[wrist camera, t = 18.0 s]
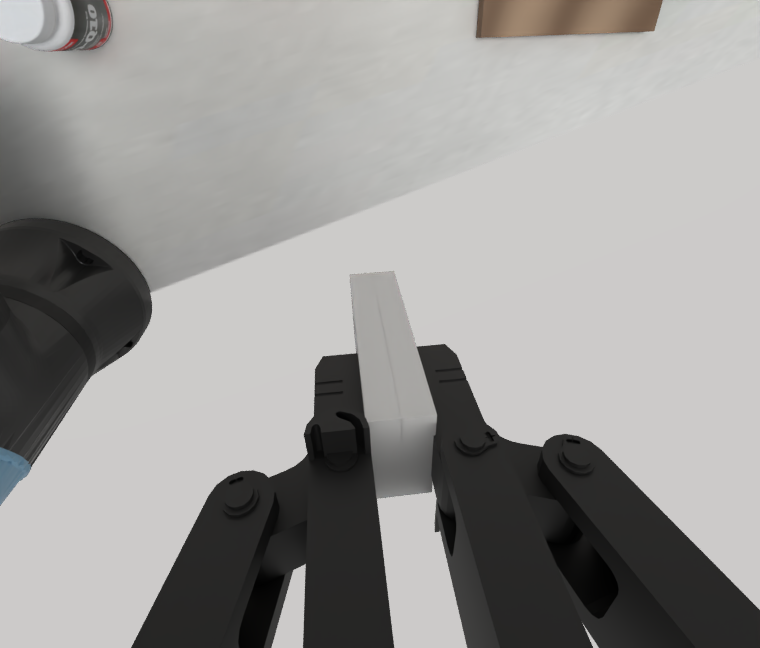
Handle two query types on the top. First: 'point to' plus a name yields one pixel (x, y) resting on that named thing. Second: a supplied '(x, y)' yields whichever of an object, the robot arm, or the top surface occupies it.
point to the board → (565, 17)
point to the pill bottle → (56, 23)
